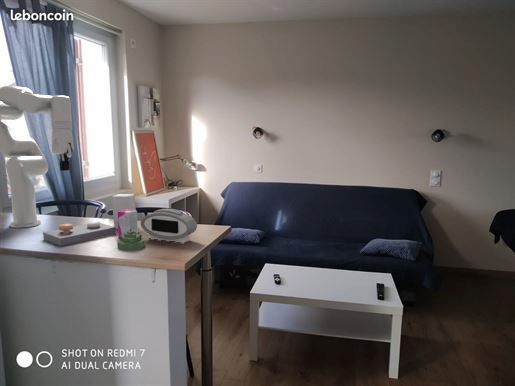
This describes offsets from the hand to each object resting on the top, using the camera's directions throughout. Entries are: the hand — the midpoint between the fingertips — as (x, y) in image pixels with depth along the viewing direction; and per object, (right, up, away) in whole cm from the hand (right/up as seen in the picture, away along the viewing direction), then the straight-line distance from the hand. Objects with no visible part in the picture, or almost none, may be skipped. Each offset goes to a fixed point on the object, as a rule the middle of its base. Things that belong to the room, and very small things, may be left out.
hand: (64, 170), depth 174 cm
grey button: (+11, -27, +3) cm, 29 cm away
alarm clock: (+45, -29, -4) cm, 54 cm away
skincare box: (+21, -26, +13) cm, 36 cm away
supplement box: (+27, -28, -2) cm, 40 cm away
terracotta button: (+4, -27, -7) cm, 28 cm away
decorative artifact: (+32, -31, -14) cm, 47 cm away
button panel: (+7, -28, -2) cm, 29 cm away
